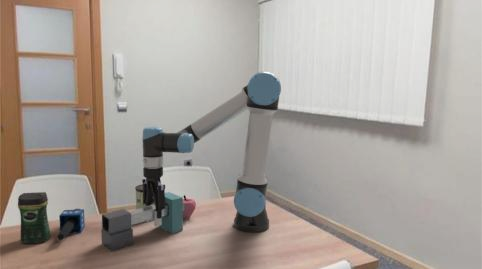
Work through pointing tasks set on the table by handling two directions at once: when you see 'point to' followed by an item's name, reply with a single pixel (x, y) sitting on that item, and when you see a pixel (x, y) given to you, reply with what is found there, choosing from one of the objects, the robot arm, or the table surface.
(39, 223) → the coffee jar
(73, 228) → the microphone
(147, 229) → the table surface
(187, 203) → the apple
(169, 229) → the socket block
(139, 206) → the coffee can
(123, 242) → the stand
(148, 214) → the slip tube
